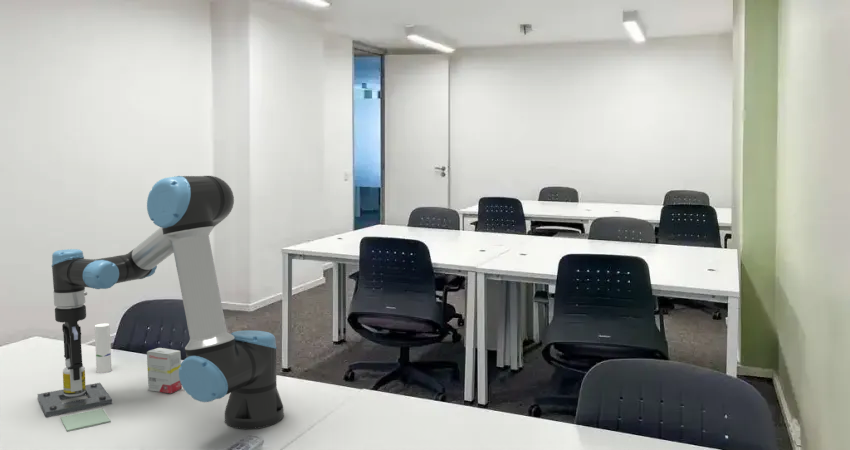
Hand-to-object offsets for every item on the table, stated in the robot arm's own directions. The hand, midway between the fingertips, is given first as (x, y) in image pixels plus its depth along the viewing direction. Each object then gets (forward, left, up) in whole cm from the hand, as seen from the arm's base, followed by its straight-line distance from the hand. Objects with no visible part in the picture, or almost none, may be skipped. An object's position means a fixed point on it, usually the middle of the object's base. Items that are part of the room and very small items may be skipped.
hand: (74, 387), depth 179 cm
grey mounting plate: (0, 0, -4) cm, 4 cm away
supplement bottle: (0, 0, -2) cm, 2 cm away
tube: (+23, -12, -4) cm, 26 cm away
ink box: (-5, -23, -4) cm, 24 cm away
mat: (-16, 0, -4) cm, 16 cm away
